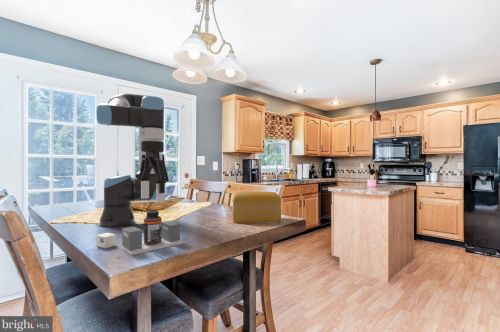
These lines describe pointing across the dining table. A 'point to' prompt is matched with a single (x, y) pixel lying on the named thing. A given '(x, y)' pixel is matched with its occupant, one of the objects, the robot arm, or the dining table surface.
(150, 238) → the supplement bottle
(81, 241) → the dining table surface
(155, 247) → the board
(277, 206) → the bread
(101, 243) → the block
